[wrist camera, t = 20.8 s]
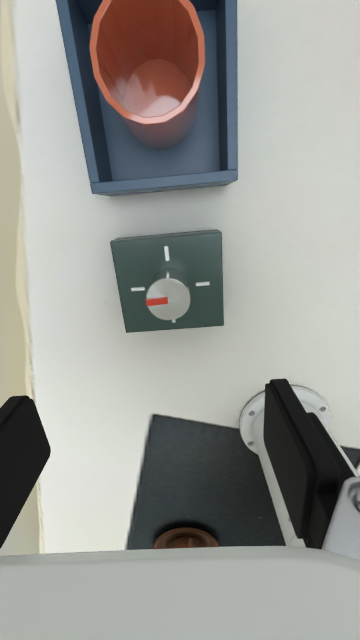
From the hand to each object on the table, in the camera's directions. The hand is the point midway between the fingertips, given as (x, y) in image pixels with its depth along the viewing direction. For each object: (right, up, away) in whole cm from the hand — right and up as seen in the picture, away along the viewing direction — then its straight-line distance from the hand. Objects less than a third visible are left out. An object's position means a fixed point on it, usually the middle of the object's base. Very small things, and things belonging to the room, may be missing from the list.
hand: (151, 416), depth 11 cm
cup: (-1, +23, +14) cm, 27 cm away
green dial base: (0, +9, +21) cm, 22 cm away
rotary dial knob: (0, +7, +18) cm, 19 cm away
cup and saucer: (+2, -37, +40) cm, 54 cm away
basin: (-1, +23, +14) cm, 27 cm away
